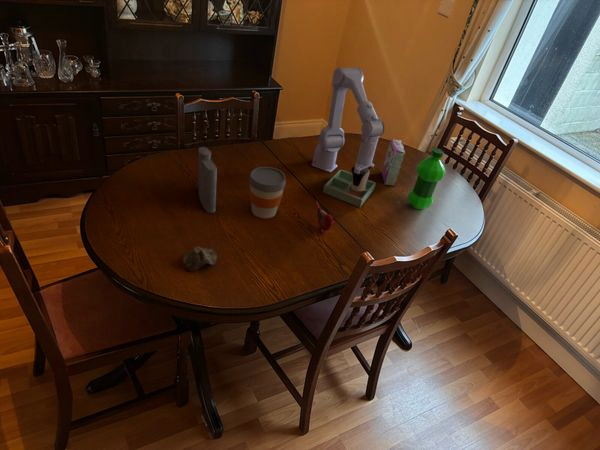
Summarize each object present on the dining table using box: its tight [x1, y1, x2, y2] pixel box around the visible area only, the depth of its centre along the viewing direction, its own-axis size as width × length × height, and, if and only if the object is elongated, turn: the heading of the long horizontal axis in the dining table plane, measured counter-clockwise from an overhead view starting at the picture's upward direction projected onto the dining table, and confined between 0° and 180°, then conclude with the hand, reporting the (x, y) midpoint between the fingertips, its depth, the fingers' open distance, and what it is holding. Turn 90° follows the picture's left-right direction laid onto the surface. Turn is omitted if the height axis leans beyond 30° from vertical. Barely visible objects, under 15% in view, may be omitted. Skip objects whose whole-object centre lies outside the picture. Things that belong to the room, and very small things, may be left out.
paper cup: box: [350, 168, 371, 191], centre depth 172 cm, size 6×6×8 cm
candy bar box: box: [381, 138, 406, 187], centre depth 189 cm, size 11×5×16 cm, turn 179°
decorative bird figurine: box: [315, 199, 334, 235], centre depth 156 cm, size 3×18×10 cm, turn 15°
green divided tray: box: [322, 168, 377, 208], centre depth 180 cm, size 16×16×4 cm
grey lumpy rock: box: [182, 246, 218, 272], centre depth 133 cm, size 8×7×10 cm
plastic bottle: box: [407, 147, 446, 210], centre depth 173 cm, size 10×10×25 cm
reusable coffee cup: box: [248, 166, 286, 219], centre depth 157 cm, size 12×13×15 cm
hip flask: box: [197, 146, 218, 214], centre depth 155 cm, size 16×4×20 cm, turn 23°
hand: (358, 182), depth 173 cm, fingers closed on paper cup, 6 cm apart
